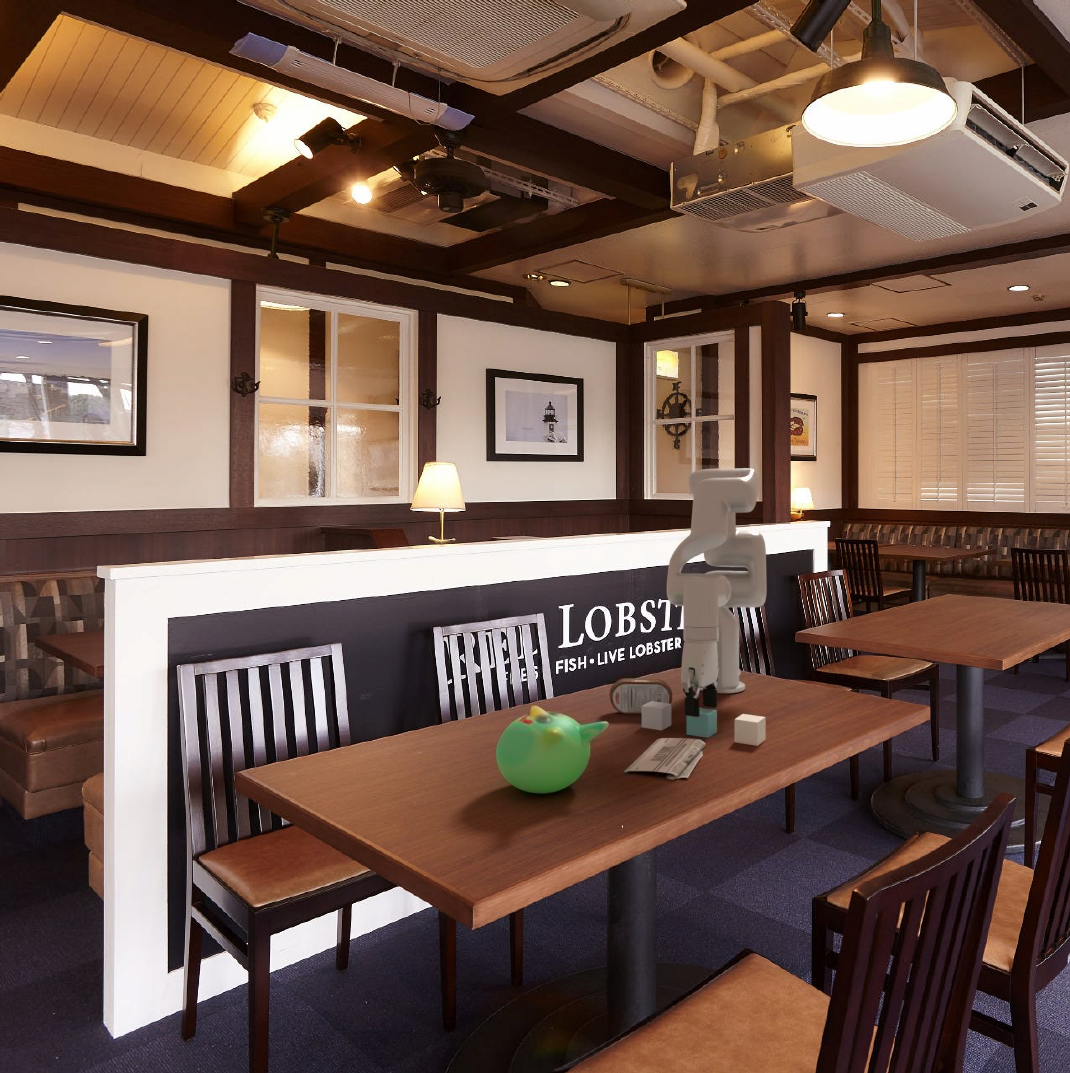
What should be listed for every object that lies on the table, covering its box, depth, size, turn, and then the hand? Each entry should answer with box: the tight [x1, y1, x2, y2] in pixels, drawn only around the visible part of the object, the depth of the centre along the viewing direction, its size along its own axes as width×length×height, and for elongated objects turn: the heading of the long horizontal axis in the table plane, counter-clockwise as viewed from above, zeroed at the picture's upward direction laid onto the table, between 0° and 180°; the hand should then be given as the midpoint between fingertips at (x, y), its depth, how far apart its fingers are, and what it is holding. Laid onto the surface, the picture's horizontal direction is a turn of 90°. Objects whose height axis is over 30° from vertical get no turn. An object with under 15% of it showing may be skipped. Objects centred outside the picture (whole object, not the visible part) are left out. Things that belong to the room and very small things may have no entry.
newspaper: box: [623, 737, 706, 781], centre depth 170 cm, size 23×12×2 cm, turn 155°
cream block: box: [734, 713, 767, 747], centre depth 181 cm, size 5×5×5 cm
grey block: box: [641, 701, 672, 731], centre depth 193 cm, size 5×5×5 cm
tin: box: [609, 677, 673, 715], centre depth 204 cm, size 15×3×8 cm, turn 84°
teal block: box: [685, 707, 718, 739], centre depth 187 cm, size 5×5×5 cm
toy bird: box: [495, 705, 610, 794], centre depth 154 cm, size 18×17×15 cm
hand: (701, 711), depth 187 cm, fingers open, 9 cm apart
